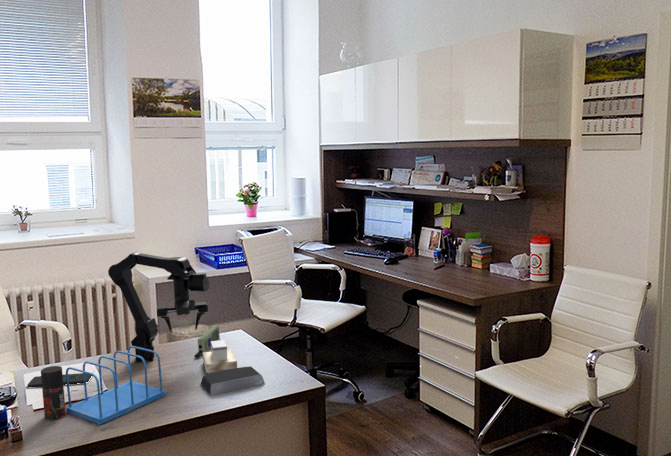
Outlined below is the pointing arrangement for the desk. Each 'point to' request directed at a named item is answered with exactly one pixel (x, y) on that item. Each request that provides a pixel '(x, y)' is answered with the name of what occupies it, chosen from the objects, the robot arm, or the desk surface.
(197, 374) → the desk surface
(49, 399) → the deodorant
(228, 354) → the cream rectangular block
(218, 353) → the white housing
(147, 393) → the file sorter
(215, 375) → the external hard drive
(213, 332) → the handheld radio
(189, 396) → the desk surface
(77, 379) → the smart home device
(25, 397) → the desk surface
